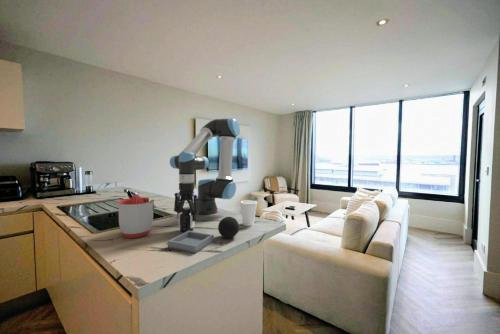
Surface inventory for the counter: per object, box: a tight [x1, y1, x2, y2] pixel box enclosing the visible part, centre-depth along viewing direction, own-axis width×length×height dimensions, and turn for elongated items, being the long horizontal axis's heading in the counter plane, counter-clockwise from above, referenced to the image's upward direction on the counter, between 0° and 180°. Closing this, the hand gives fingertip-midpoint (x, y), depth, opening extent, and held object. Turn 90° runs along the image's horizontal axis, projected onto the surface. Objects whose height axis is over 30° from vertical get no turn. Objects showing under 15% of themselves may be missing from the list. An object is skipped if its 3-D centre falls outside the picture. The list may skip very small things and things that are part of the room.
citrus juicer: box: [117, 193, 158, 239], centre depth 108 cm, size 16×17×20 cm
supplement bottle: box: [179, 206, 194, 234], centre depth 113 cm, size 7×7×12 cm
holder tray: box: [167, 230, 215, 255], centre depth 97 cm, size 14×14×3 cm
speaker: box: [217, 216, 240, 239], centre depth 105 cm, size 10×10×10 cm
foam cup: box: [240, 199, 258, 227], centre depth 126 cm, size 10×9×13 cm
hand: (186, 226), depth 113 cm, fingers open, 7 cm apart
